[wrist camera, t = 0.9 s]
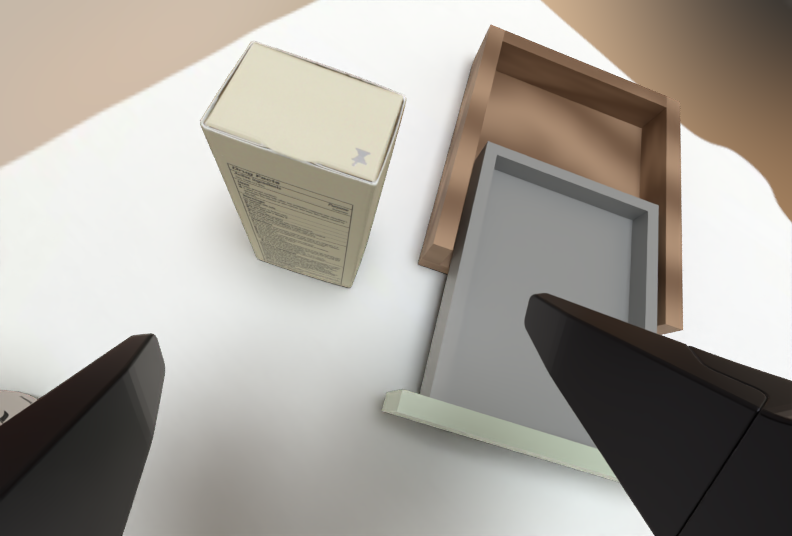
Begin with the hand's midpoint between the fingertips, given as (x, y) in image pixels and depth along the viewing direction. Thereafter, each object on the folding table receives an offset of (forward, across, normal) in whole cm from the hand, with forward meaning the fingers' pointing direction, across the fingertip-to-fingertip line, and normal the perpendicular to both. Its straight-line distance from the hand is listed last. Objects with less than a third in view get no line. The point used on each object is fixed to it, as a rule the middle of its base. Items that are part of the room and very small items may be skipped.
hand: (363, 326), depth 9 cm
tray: (+11, -13, +8) cm, 19 cm away
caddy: (+18, -17, +3) cm, 25 cm away
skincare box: (+16, 0, +5) cm, 16 cm away
